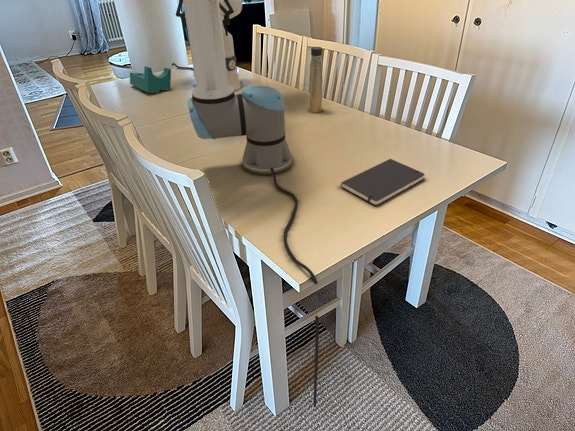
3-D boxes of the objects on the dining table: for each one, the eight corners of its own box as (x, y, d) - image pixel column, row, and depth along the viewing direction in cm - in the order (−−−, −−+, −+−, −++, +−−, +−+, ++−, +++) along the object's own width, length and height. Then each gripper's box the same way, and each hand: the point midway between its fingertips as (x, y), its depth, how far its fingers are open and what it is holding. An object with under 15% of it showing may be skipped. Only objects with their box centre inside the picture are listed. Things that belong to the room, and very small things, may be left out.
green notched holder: (170, 93, 186) (171, 69, 181) (147, 92, 179) (148, 67, 174) (151, 84, 197) (152, 61, 192) (130, 83, 190) (130, 60, 185)
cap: (308, 54, 149) (308, 48, 147) (316, 52, 151) (316, 46, 149) (316, 56, 146) (316, 50, 145) (324, 54, 148) (324, 48, 147)
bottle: (307, 110, 161) (307, 49, 148) (315, 107, 164) (316, 47, 150) (315, 113, 158) (316, 51, 145) (323, 110, 161) (325, 49, 147)
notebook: (389, 163, 124) (340, 187, 113) (390, 158, 123) (341, 182, 112) (424, 178, 116) (375, 206, 105) (425, 174, 115) (376, 201, 104)
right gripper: (235, -35, 140) (241, 31, 152) (161, -31, 136) (173, 36, 149) (237, -33, 134) (243, 36, 146) (160, -30, 130) (172, 40, 143)
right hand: (208, 36), depth 147 cm, fingers open, 13 cm apart
